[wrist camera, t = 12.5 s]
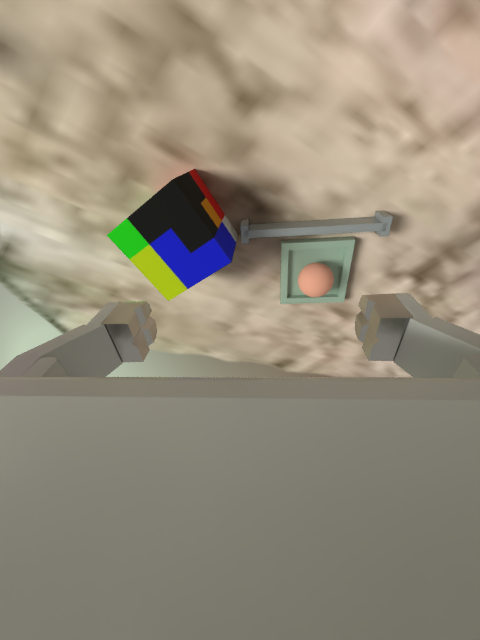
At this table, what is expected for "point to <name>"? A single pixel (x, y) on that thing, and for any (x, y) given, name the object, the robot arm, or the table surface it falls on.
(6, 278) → the table surface
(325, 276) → the ball
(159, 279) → the puzzle toy
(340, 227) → the bar with end supports
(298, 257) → the dish
